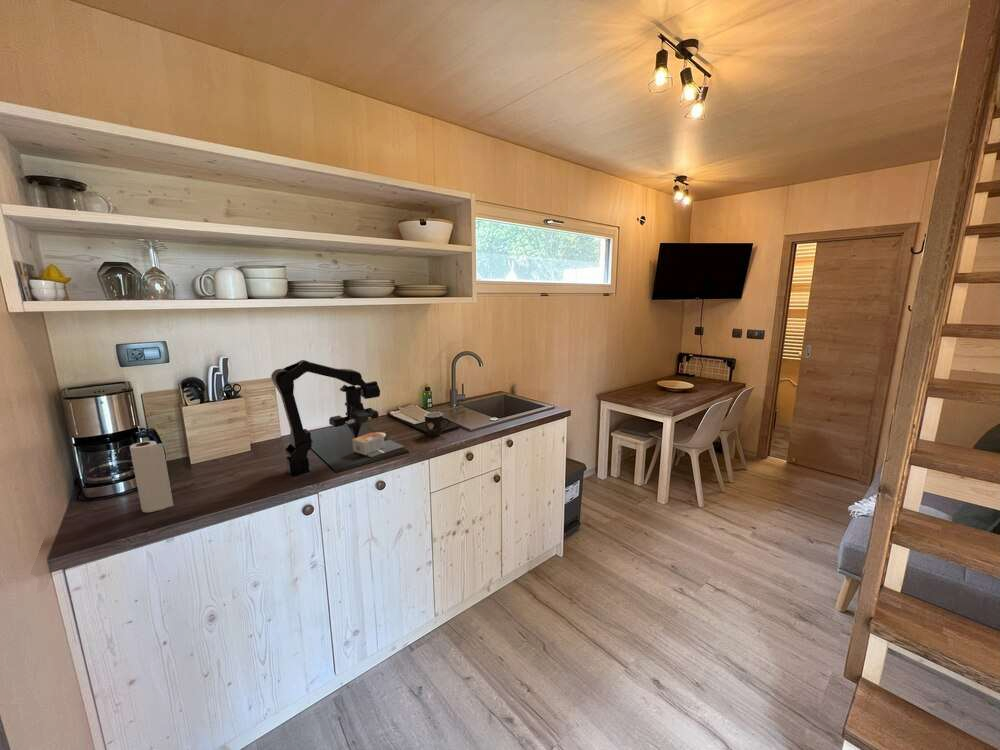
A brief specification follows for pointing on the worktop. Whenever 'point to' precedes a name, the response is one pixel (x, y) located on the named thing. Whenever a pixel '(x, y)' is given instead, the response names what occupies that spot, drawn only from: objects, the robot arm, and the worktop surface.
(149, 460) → the paper towel roll
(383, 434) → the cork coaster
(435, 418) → the coffee mug
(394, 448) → the mat
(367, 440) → the small box
